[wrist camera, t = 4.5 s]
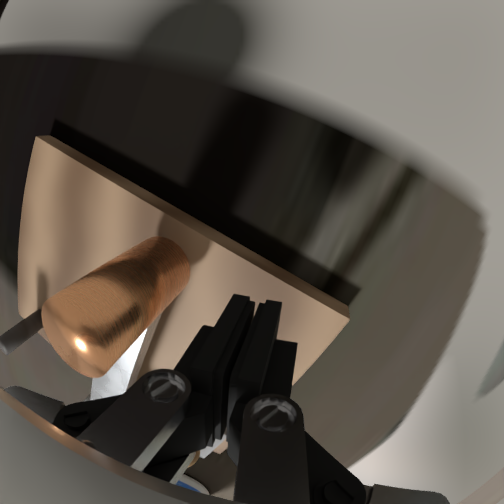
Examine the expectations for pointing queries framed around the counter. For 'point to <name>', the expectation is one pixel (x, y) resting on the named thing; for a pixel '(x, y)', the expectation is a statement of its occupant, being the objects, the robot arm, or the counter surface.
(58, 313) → the lever
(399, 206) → the counter surface
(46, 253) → the board
